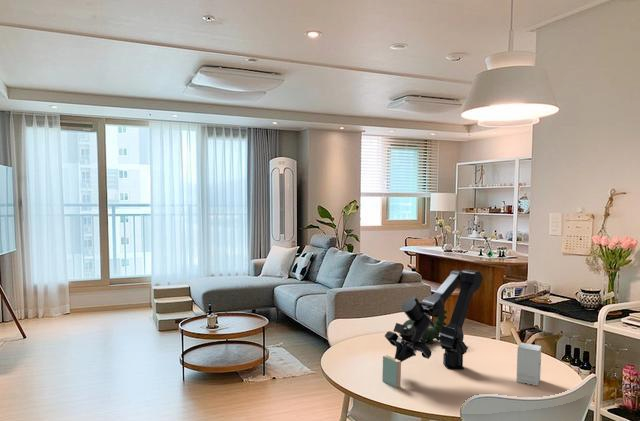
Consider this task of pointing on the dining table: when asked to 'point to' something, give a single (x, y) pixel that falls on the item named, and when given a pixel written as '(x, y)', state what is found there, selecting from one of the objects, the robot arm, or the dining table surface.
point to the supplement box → (528, 363)
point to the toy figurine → (434, 331)
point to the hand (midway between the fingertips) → (394, 363)
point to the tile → (391, 371)
